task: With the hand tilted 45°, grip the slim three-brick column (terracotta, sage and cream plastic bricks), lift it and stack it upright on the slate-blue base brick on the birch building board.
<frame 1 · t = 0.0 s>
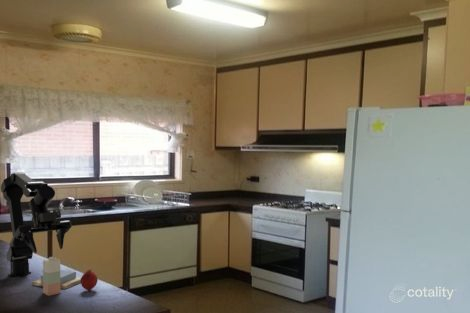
hand: (49, 250, 168), 15 cm above the counter, tool tilted 35°, fingers open, 9 cm apart
brick column: (51, 293, 167), on the counter
building board: (58, 282, 180), on the counter
base brick: (58, 276, 180), on the building board, point 2 cm above the counter
onion: (89, 291, 170), on the counter
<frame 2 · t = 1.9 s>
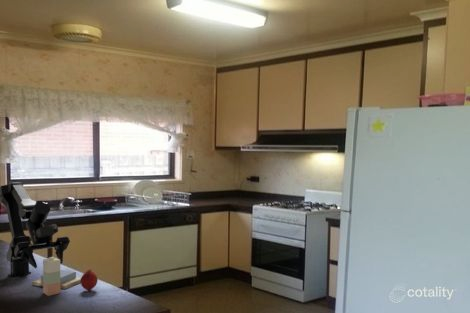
hand: (49, 265, 169), 9 cm above the counter, tool tilted 45°, fingers open, 9 cm apart
nothing on the counter moved.
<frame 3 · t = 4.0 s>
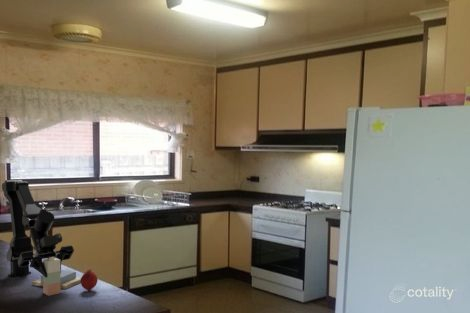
hand: (53, 275, 166), 7 cm above the counter, tool tilted 45°, fingers closed on brick column, 4 cm apart
brick column: (51, 293, 167), on the counter, touching gripper
everything else where it was.
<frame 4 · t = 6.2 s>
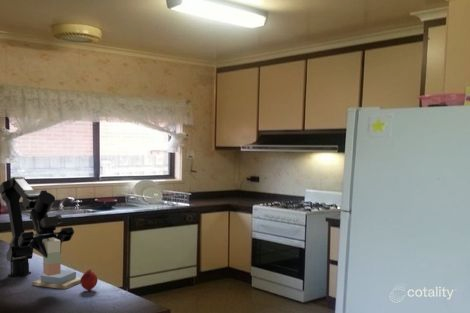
hand: (53, 255, 167), 13 cm above the counter, tool tilted 45°, fingers closed on brick column, 4 cm apart
brick column: (51, 273, 168), point 7 cm above the counter, touching gripper
everything else where it was.
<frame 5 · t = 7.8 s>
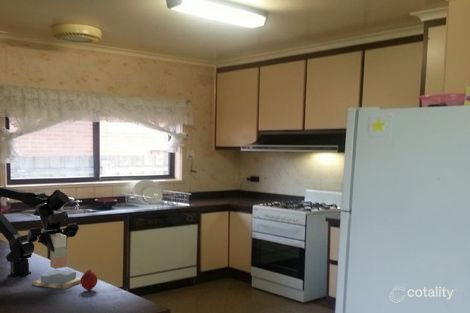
hand: (59, 250, 178), 13 cm above the counter, tool tilted 45°, fingers closed on brick column, 4 cm apart
brick column: (58, 266, 180), point 6 cm above the counter, touching gripper
everything else where it was.
when the fingers open (11 cm above the counter, at t = 8.9 s): brick column drops 1 cm, resting on base brick.
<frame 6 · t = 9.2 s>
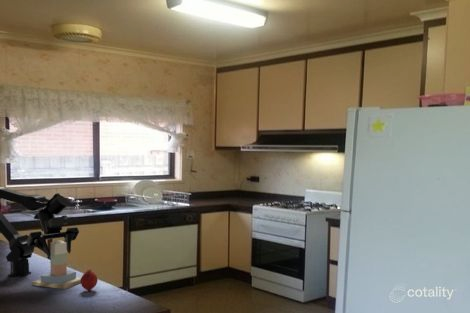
hand: (60, 254, 178), 11 cm above the counter, tool tilted 45°, fingers open, 7 cm apart
brick column: (58, 273, 180), point 4 cm above the counter, touching base brick
everything else where it was.
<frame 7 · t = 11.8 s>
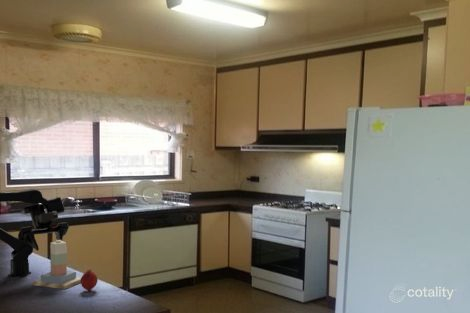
hand: (49, 248, 185), 12 cm above the counter, tool tilted 45°, fingers open, 9 cm apart
nothing on the counter moved.
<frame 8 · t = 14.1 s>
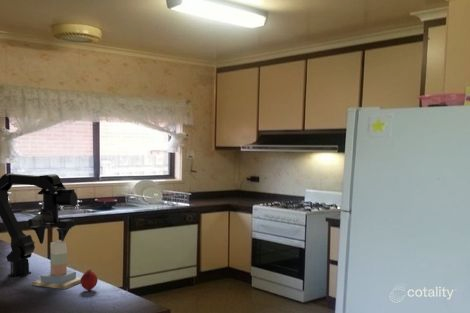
hand: (50, 244, 188), 13 cm above the counter, tool pointing down, fingers open, 9 cm apart
nothing on the counter moved.
at the end: brick column 0.0 cm off-centre on the base brick, point 3.6 cm above the base brick's base; brick column tilted 0°; the gripper is holding nothing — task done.
